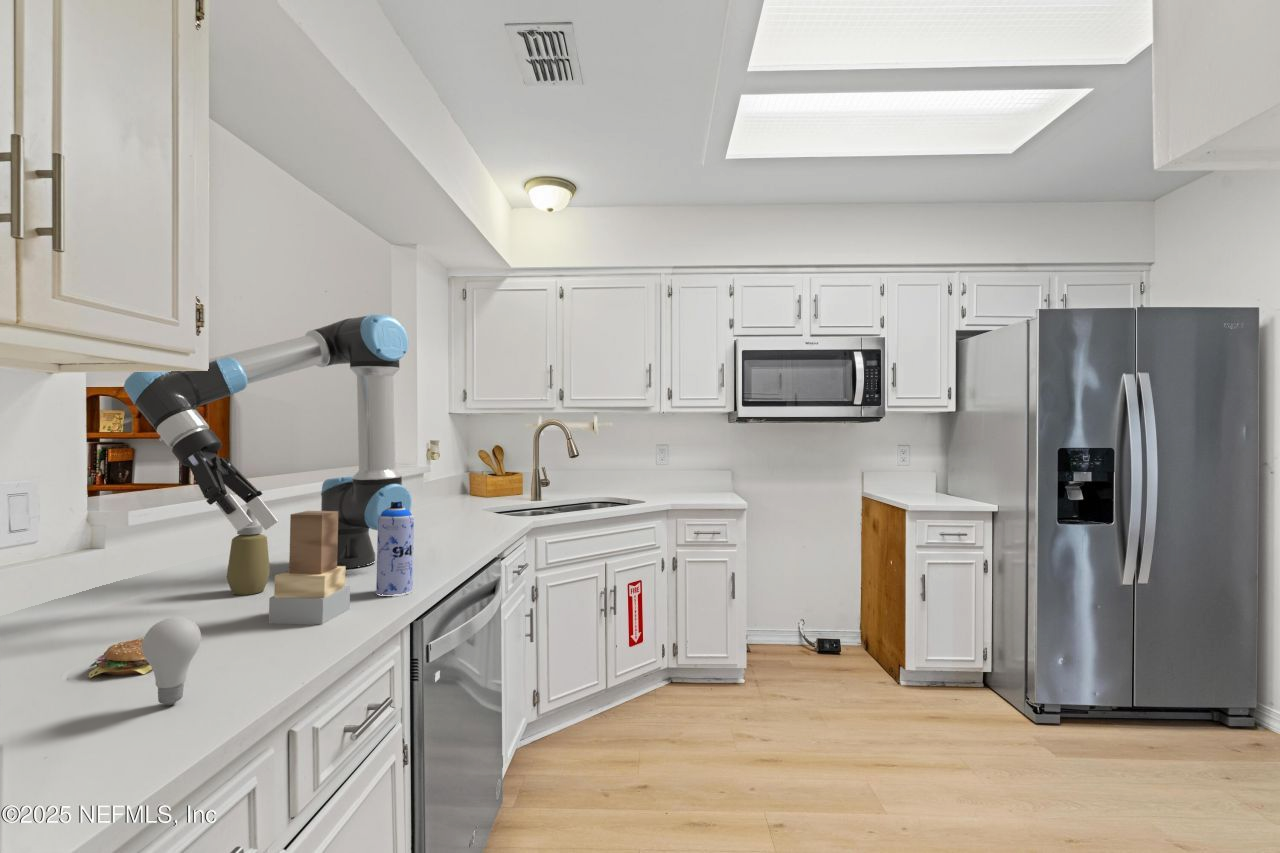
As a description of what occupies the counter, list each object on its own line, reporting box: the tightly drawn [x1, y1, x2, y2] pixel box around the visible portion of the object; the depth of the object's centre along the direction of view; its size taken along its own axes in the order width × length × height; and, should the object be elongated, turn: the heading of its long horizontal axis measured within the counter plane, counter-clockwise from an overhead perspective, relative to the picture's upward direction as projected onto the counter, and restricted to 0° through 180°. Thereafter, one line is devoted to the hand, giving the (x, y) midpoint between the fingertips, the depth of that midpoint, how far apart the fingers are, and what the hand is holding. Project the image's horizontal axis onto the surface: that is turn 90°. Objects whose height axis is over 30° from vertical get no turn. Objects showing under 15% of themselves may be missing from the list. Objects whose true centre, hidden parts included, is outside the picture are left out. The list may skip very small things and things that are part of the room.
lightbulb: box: [142, 616, 202, 707], centre depth 81 cm, size 6×6×11 cm
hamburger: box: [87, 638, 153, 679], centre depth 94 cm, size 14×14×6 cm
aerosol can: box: [375, 501, 415, 595], centre depth 140 cm, size 8×8×20 cm
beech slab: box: [273, 566, 347, 598], centre depth 121 cm, size 9×9×4 cm
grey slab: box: [268, 585, 351, 625], centre depth 121 cm, size 10×10×5 cm
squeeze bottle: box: [226, 508, 271, 596], centre depth 139 cm, size 8×8×18 cm
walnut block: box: [288, 510, 338, 574], centre depth 122 cm, size 6×6×11 cm
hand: (259, 526), depth 123 cm, fingers open, 13 cm apart
